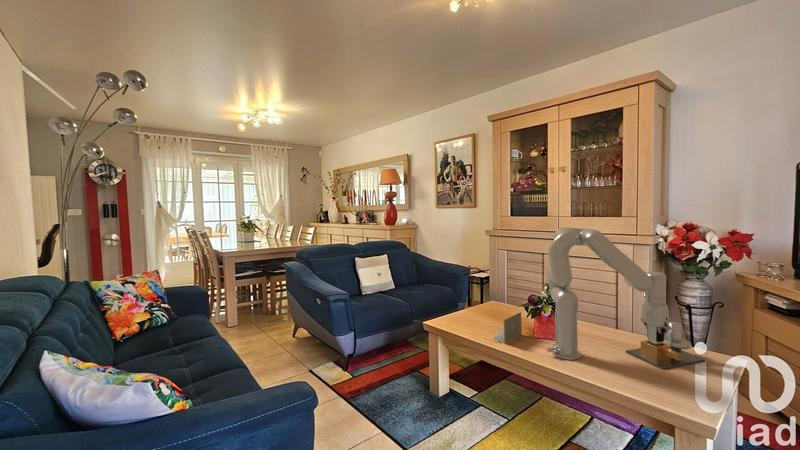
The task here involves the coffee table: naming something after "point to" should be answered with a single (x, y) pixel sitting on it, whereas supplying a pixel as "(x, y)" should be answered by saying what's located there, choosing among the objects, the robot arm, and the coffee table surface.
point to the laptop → (509, 329)
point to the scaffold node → (667, 351)
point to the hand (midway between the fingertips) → (655, 339)
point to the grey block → (653, 335)
